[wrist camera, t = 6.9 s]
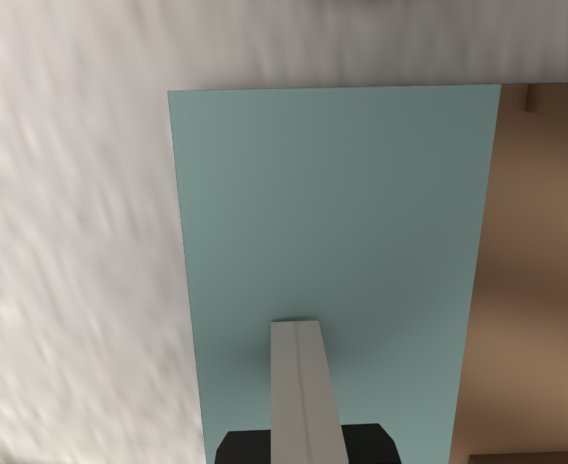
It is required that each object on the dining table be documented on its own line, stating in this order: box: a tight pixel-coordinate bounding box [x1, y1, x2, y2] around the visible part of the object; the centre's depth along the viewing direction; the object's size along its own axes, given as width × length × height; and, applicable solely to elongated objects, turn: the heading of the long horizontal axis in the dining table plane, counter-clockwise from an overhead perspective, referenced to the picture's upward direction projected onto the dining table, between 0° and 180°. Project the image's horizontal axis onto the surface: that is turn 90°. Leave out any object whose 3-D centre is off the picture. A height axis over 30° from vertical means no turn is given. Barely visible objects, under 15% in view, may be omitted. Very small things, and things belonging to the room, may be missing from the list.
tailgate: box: [168, 84, 501, 464], centre depth 14 cm, size 15×1×9 cm
